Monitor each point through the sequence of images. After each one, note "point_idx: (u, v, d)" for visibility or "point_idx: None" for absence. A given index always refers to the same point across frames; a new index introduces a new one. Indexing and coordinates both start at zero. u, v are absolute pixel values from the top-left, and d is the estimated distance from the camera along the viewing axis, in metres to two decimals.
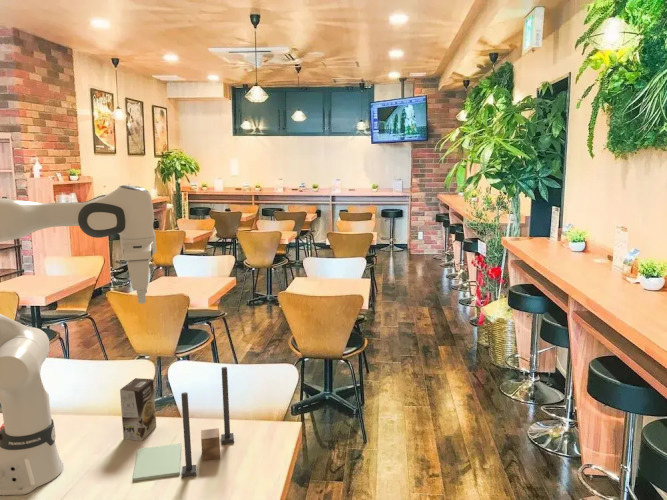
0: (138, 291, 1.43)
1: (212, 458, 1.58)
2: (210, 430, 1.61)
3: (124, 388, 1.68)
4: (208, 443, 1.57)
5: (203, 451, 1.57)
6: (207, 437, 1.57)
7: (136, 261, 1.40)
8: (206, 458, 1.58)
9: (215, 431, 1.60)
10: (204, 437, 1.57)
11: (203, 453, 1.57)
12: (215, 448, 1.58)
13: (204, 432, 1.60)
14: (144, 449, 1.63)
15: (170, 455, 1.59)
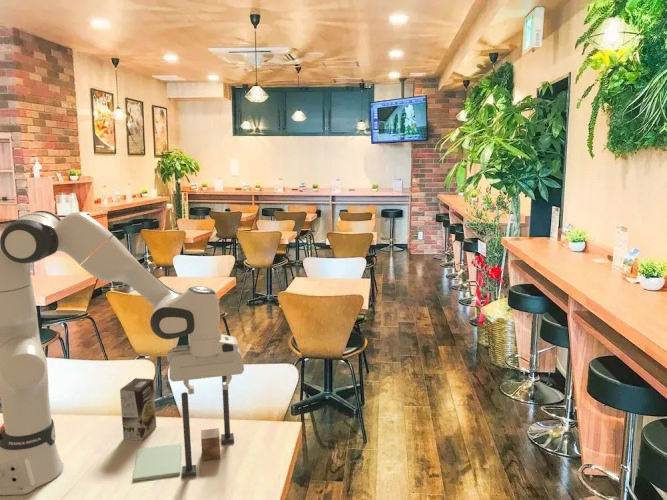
0: (231, 377, 1.57)
1: (212, 458, 1.58)
2: (210, 430, 1.61)
3: (124, 388, 1.68)
4: (208, 443, 1.57)
5: (203, 451, 1.57)
6: (207, 437, 1.57)
7: None
8: (206, 458, 1.58)
9: (215, 431, 1.60)
10: (204, 437, 1.57)
11: (203, 453, 1.57)
12: (215, 448, 1.58)
13: (204, 432, 1.60)
14: (144, 449, 1.63)
15: (170, 455, 1.59)
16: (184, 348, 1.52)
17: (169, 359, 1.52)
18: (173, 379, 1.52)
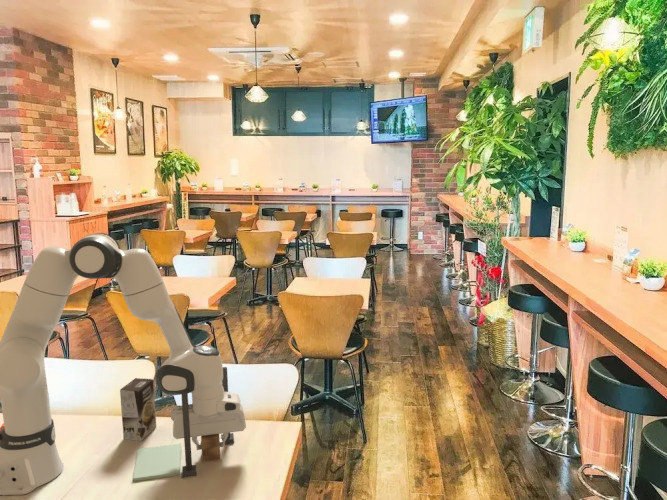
0: None
1: (212, 457, 1.58)
2: None
3: (124, 388, 1.68)
4: (208, 443, 1.57)
5: (203, 451, 1.57)
6: (207, 437, 1.57)
7: None
8: (206, 458, 1.58)
9: None
10: (204, 437, 1.57)
11: (203, 453, 1.57)
12: (215, 448, 1.58)
13: None
14: (144, 449, 1.63)
15: (170, 455, 1.59)
16: None
17: (173, 417, 1.55)
18: (176, 437, 1.55)
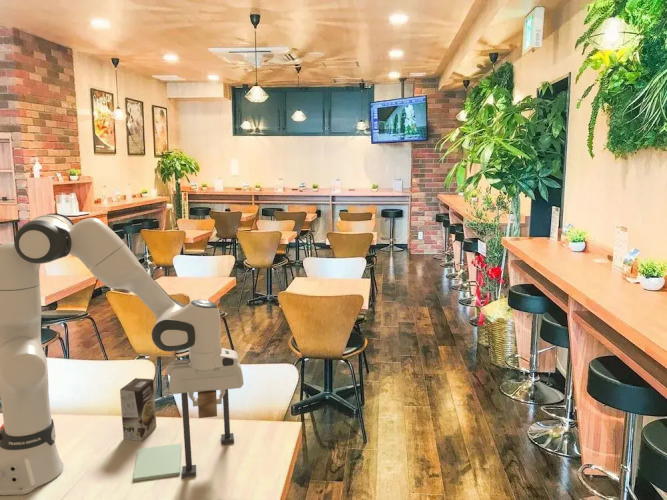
0: None
1: (209, 414, 1.55)
2: None
3: (124, 388, 1.68)
4: (204, 399, 1.54)
5: (199, 407, 1.54)
6: (204, 393, 1.54)
7: None
8: (202, 414, 1.55)
9: None
10: (201, 393, 1.54)
11: (199, 409, 1.55)
12: (212, 405, 1.55)
13: None
14: (144, 449, 1.63)
15: (170, 455, 1.59)
16: (184, 361, 1.53)
17: (169, 371, 1.53)
18: (172, 391, 1.53)
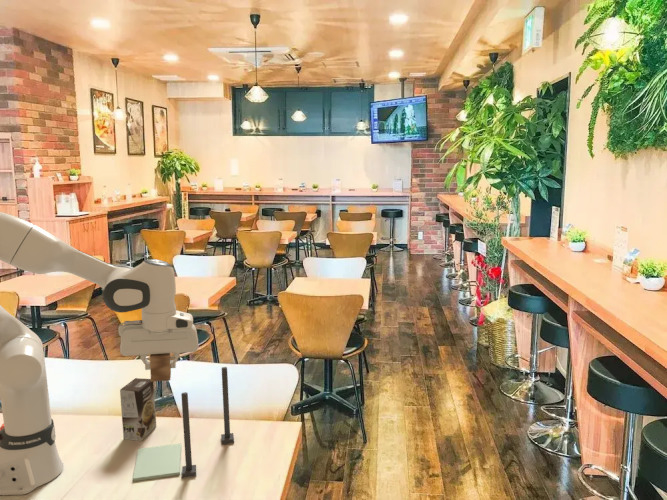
0: None
1: (161, 378, 1.51)
2: None
3: (124, 388, 1.68)
4: (157, 362, 1.50)
5: (152, 370, 1.50)
6: (156, 355, 1.50)
7: (191, 325, 1.52)
8: (155, 378, 1.50)
9: None
10: (154, 355, 1.50)
11: (152, 372, 1.50)
12: (165, 368, 1.50)
13: None
14: (144, 449, 1.63)
15: (170, 455, 1.59)
16: (137, 322, 1.48)
17: (121, 332, 1.48)
18: (124, 353, 1.48)
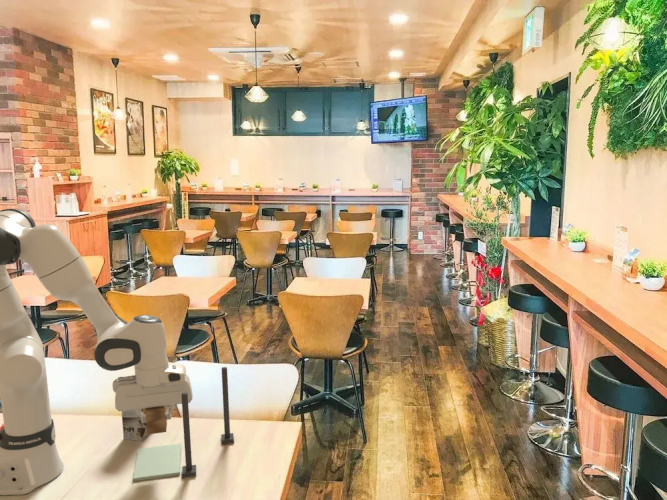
0: None
1: (157, 430, 1.53)
2: None
3: None
4: (152, 415, 1.52)
5: (147, 423, 1.52)
6: (151, 409, 1.52)
7: (184, 377, 1.54)
8: (151, 431, 1.53)
9: None
10: (149, 409, 1.52)
11: (147, 425, 1.52)
12: (160, 420, 1.53)
13: None
14: (144, 449, 1.63)
15: (170, 455, 1.59)
16: (130, 377, 1.50)
17: (115, 388, 1.50)
18: (119, 409, 1.50)
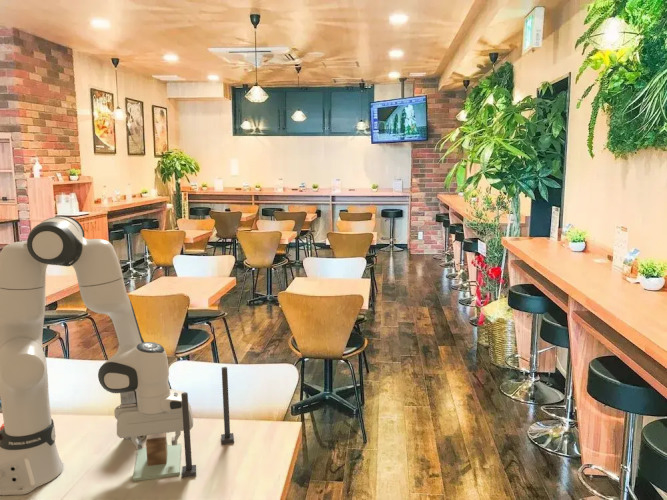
0: (180, 433, 1.57)
1: (158, 462, 1.55)
2: None
3: None
4: (153, 447, 1.54)
5: (148, 455, 1.54)
6: (152, 441, 1.54)
7: None
8: (152, 462, 1.54)
9: (162, 435, 1.57)
10: (150, 441, 1.54)
11: (148, 457, 1.54)
12: (161, 452, 1.54)
13: (150, 436, 1.56)
14: (144, 449, 1.63)
15: (170, 455, 1.59)
16: (132, 404, 1.52)
17: (117, 415, 1.52)
18: (120, 436, 1.52)
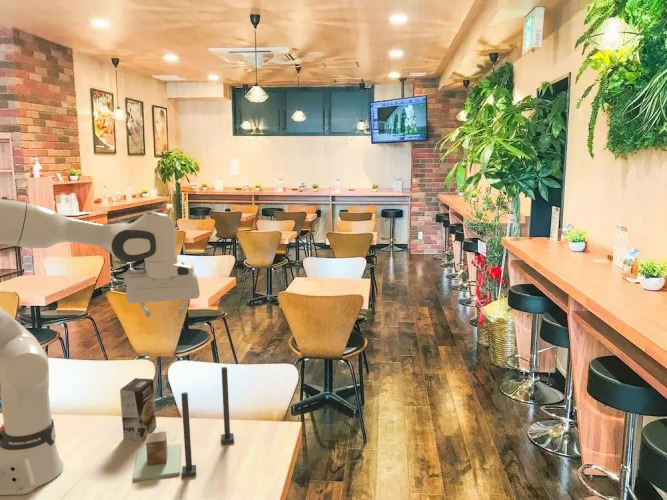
0: None
1: (158, 462, 1.55)
2: (157, 433, 1.58)
3: (124, 388, 1.68)
4: (153, 447, 1.54)
5: (148, 455, 1.54)
6: (152, 441, 1.54)
7: (192, 273, 1.62)
8: (152, 462, 1.54)
9: (162, 435, 1.57)
10: (150, 441, 1.54)
11: (148, 457, 1.54)
12: (161, 452, 1.54)
13: (150, 436, 1.56)
14: (144, 449, 1.63)
15: (170, 455, 1.59)
16: (141, 271, 1.58)
17: (126, 281, 1.58)
18: (130, 300, 1.58)
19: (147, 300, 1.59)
